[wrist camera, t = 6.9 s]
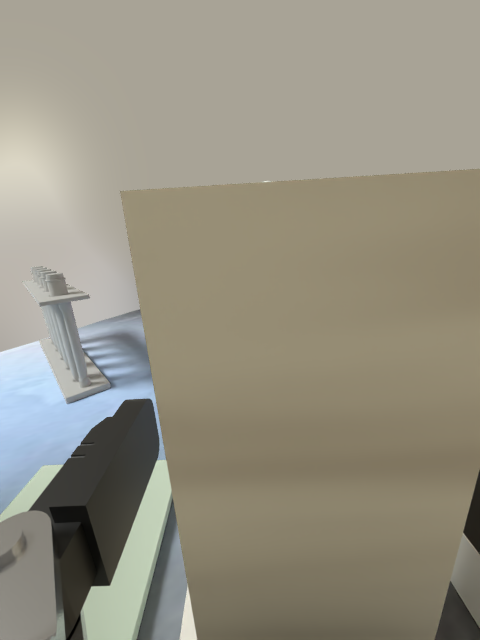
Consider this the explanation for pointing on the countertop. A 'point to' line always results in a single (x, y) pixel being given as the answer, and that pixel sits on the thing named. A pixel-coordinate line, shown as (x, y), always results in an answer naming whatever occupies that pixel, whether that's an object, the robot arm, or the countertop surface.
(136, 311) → the countertop surface
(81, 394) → the test tube rack
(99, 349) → the countertop surface
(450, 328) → the tall wooden block
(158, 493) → the sage mat
